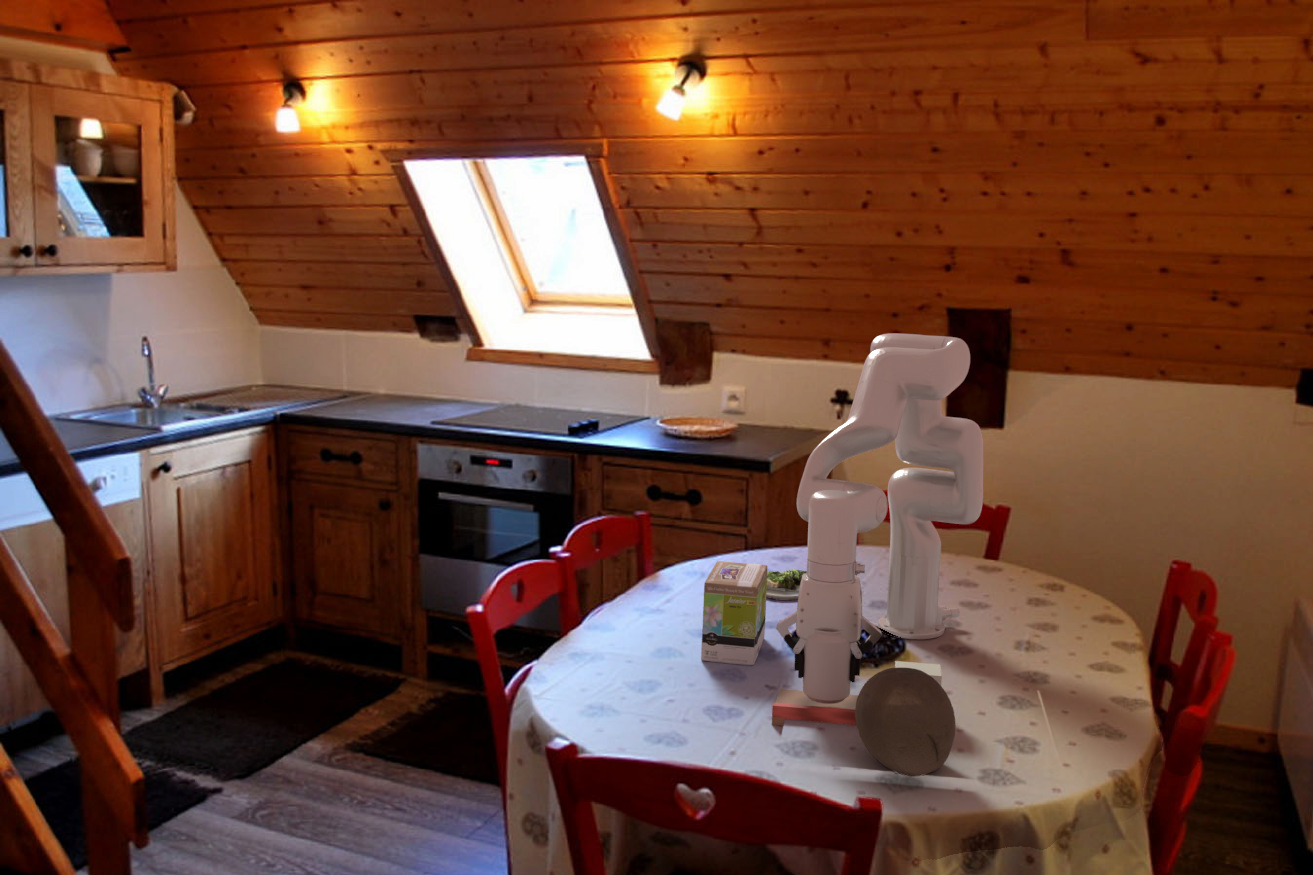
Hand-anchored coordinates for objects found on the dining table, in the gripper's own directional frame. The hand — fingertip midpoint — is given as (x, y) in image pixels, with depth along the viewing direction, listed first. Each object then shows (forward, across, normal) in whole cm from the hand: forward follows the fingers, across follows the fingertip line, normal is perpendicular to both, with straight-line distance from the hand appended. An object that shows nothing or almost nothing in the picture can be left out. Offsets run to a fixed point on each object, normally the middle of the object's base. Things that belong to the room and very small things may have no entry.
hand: (826, 676), depth 194 cm
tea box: (+7, +18, -26) cm, 33 cm away
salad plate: (+7, +10, -65) cm, 67 cm away
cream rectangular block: (+5, -14, 0) cm, 15 cm away
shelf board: (+6, -5, 0) cm, 8 cm away
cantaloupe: (+7, -12, +18) cm, 22 cm away
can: (+4, 0, 0) cm, 4 cm away
